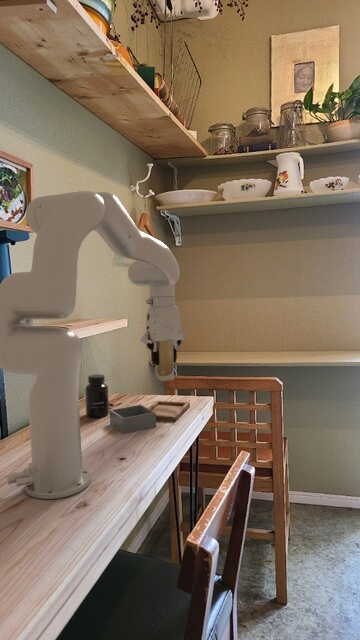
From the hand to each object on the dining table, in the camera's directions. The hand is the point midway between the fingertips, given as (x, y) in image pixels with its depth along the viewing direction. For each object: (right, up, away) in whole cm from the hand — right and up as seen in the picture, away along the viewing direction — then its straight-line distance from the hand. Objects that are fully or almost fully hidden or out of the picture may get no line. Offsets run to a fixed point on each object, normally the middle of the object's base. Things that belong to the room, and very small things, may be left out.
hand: (164, 362), depth 132 cm
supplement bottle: (-20, -16, +1) cm, 26 cm away
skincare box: (0, -5, +1) cm, 5 cm away
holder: (-8, -17, -9) cm, 21 cm away
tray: (0, -15, +1) cm, 15 cm away
